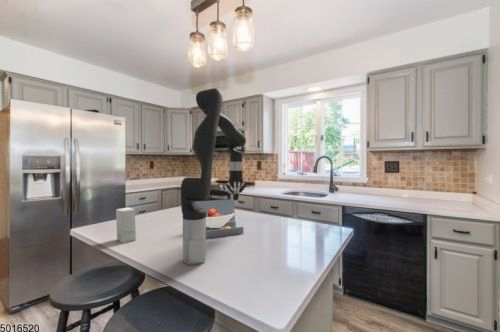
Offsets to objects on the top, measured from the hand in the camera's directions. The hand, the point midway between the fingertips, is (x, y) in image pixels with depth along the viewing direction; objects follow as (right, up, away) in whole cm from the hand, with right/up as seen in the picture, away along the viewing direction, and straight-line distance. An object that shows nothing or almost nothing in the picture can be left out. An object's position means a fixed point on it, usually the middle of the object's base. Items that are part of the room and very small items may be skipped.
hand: (235, 200), depth 134 cm
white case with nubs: (-9, -17, -3) cm, 20 cm away
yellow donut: (-6, -18, -1) cm, 19 cm away
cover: (-12, -7, +4) cm, 15 cm away
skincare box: (-54, -18, -16) cm, 59 cm away
